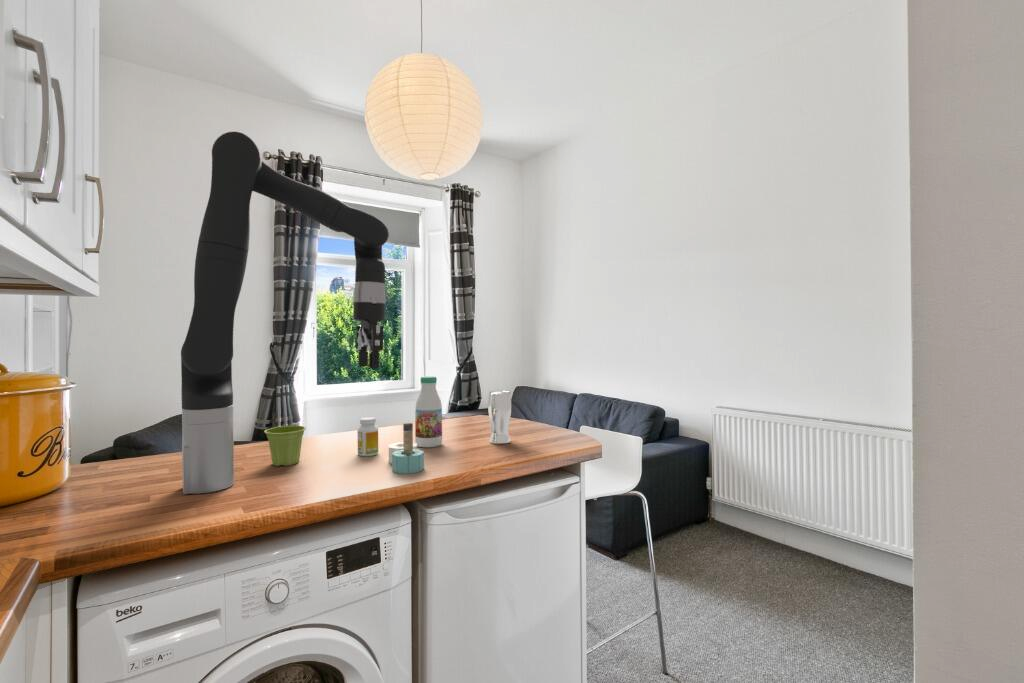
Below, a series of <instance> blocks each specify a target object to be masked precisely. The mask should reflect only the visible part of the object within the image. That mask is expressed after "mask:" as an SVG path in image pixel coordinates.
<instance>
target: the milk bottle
mask: <svg viewBox="0 0 1024 683" xmlns="http://www.w3.org/2000/svg"><path fill="white" fill-rule="evenodd" d="M437 380H438V379H437V377H436V376H431V375H430V376H421V377H420V385H421V388H420V391H419V394H418V397H417V398H416V402H415V414H414V416H415V418H414V419H415V420H414V422H415V423H414V424H415V426H414V428H415V429H414V430H415V431H414V432H415V433H414V434H415V437H414V439H415V441H414V443H417V448H418V447H419V448H436V447H439V446H441V445H442V444H443V406H442V401H441V397H440V396H439V393H438V391H437V390H438V389H437V388H436V387H437V386H436V385H437Z"/></svg>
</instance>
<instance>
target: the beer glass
mask: <svg viewBox="0 0 1024 683" xmlns="http://www.w3.org/2000/svg"><path fill="white" fill-rule="evenodd" d="M487 403H488V404H487V405H488V406H487V409H488V410H487V411H488V417H489V424H490V437H489V443H490V444H492V445H507V444H510V442H511V438H510V433H509V432H510V430H509V429H510V428H509V427H510V420H511V415H512V395H511V391H506V390H494V391H493V390H492V391H489V392H488V402H487Z"/></svg>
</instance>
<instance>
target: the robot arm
mask: <svg viewBox="0 0 1024 683" xmlns="http://www.w3.org/2000/svg"><path fill="white" fill-rule="evenodd" d="M253 192H255V193H257V194H258V195H259V194H260V195H262V196H264V197H267V198H269V199H271V200H274V201H277V202H278V203H280V204H282V205H285V206H287V207H288V208H290V209H293V210H294V211H296V212H298V213H300V214H302V215H304V216H305V217H307V218H309V219H311V220H313V221H314V222H317V223H318V224H320V225H322V226H324V227H326V228H328V229H330V230H331V231H333V232H337V233H345V234H346V235H348V236H351V237H353V247H354V249H353V250H354V256H355V274H354V276H355V279H354V280H355V281H354V282H355V283H354V290H353V311H352V312H353V313H352V315H353V317H352V318H353V320H354V321H357V322H360V325H356V326H355V344H354V345H355V346H354V347H355V349H356V350H357V352H358V356H357V357H358V360H357V362H358V363H357V365H358V366H359V367H368V368H369V369H370V370H371V369H372V370H375V369H377V370H378V369H379V367H380V365H379V364H380V353H381V351H383V350H384V325H383V324H382V325H381V324H379V322H384V321H385V320H386V302H387V301H386V296H387V295H386V293H387V292H386V265H385V263H384V261H383V245H385V244H386V243H387V241H388V239H389V236H390V234H389V233H390V232H389V229H388V227H387V225H386V224H385V223H384V222H383V221H382V220H381V219H380V218H377V217H376V216H375V215H372V214H370V213H368V212H365V211H363V210H361V209H357V208H355V207H351V206H349V205H347V204H346V203H345V202H343V201H341V200H340V199H338V198H337V197H334V196H332V195H330V194H329V193H327V192H325V191H324V190H321V189H319V188H317V187H315V186H312V185H308V184H306V183H303V182H300V181H297V180H295V179H292V178H291V177H290V178H289V177H288V176H286V175H284V174H282V173H280V172H279V171H277V170H275V169H274V168H272V167H271V166H269V164H266V163H265V162H264V161H263V160H262V153H261V151H260V149H259V147H258V145H257V144H256V142H255V141H254V140H253V138H251V137H249V136H248V135H246V134H245V133H243V132H239V131H228V132H225V133H223V134H221V135H220V136H218V137H217V138H216V140H215V141H214V142H213V144H212V148H211V180H210V192H209V198H208V201H207V205H206V208H205V212H204V215H203V219H202V224H201V226H200V228H201V229H200V233H199V237H198V242H197V247H196V248H197V249H196V253H195V259H194V260H195V261H194V273H193V274H194V275H193V276H194V277H193V278H194V279H193V288H194V289H193V290H194V292H193V294H194V300H193V308H192V315H191V319H190V322H189V326H188V329H187V333H186V336H185V340H184V343H182V346H181V350H180V367H181V371H180V372H181V374H180V375H181V425H182V426H181V429H182V430H181V432H182V434H181V436H182V437H181V438H182V439H181V440H182V442H181V446H182V447H181V452H182V453H181V455H182V457H181V458H182V459H181V461H182V462H181V463H182V465H181V466H182V494H183V495H189V494H191V495H192V494H207V493H213V492H217V491H219V492H220V491H222V490H225V489H228V488H231V487H232V486H233V485H234V483H235V458H234V457H235V455H234V453H235V452H234V445H235V444H234V441H235V440H234V391H233V381H232V380H233V379H232V378H233V377H232V376H233V374H232V373H233V371H232V370H233V369H232V368H233V367H232V361H233V358H234V326H235V312H236V308H237V304H238V301H239V297H240V294H241V291H242V286H243V284H244V283H243V282H244V277H245V273H246V268H247V264H248V263H247V262H248V255H249V249H250V248H249V247H250V237H251V236H250V234H251V232H250V230H251V229H250V228H251V225H250V224H251V221H250V219H251V218H250V215H251V214H250V210H251V209H250V208H251V207H250V206H251V199H252V198H251V197H252V193H253Z"/></svg>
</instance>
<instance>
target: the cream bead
mask: <svg viewBox="0 0 1024 683" xmlns="http://www.w3.org/2000/svg"><path fill="white" fill-rule="evenodd" d="M413 449H418V446H417V443H416V442H413ZM398 450H403V441H401V442H399V441H398V442H395V443H394V442H393V443H391V444H390V443H389V444H388V464H391V465H392V453H394V452H395V451H398Z"/></svg>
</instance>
